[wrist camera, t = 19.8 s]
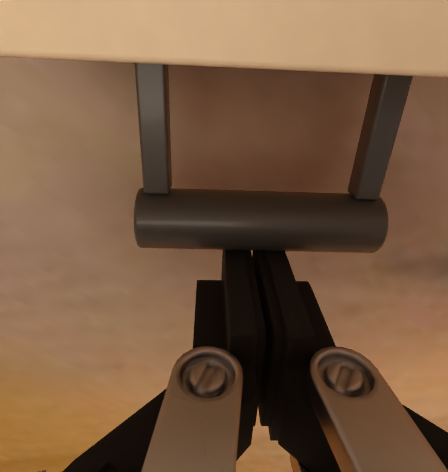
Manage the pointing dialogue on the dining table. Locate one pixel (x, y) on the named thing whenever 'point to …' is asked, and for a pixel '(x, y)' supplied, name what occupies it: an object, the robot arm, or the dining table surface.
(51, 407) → the dining table surface
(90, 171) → the dining table surface
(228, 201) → the drawer
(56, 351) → the dining table surface
